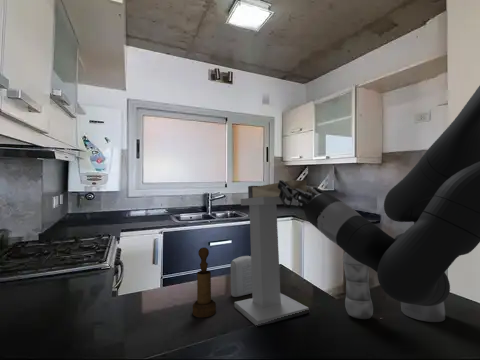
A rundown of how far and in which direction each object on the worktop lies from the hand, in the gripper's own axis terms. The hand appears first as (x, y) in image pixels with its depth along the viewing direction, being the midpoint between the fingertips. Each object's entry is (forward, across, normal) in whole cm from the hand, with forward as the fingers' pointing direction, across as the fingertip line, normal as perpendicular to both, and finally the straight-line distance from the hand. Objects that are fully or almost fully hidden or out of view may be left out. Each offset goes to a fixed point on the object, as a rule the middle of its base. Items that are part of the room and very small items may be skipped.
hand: (287, 183), depth 64 cm
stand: (-8, 0, +36) cm, 37 cm away
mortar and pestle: (-1, +17, +40) cm, 44 cm away
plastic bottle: (-21, -18, +29) cm, 40 cm away
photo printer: (+6, 0, +44) cm, 45 cm away
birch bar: (+4, 0, +6) cm, 7 cm away
